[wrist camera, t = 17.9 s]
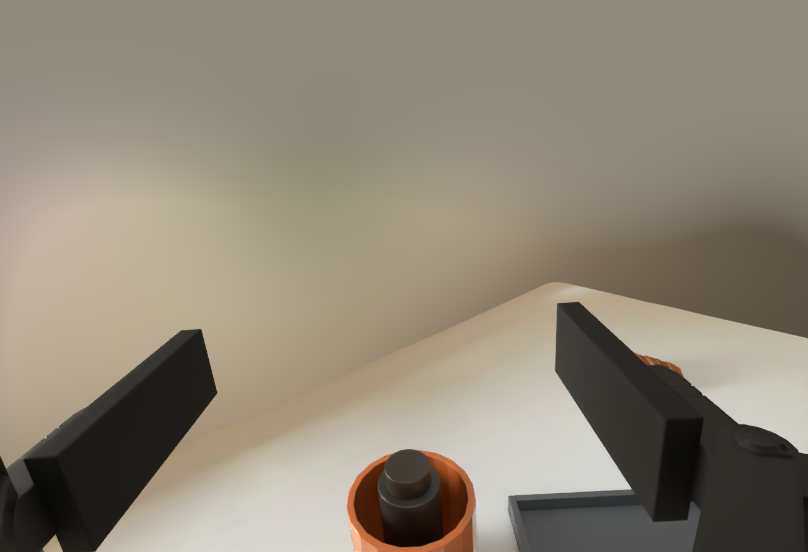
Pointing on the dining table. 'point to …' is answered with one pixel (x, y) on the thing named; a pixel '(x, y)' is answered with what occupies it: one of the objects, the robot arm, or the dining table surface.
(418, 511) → the pepper mill
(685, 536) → the tray
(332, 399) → the dining table surface
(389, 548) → the pot
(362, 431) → the dining table surface
